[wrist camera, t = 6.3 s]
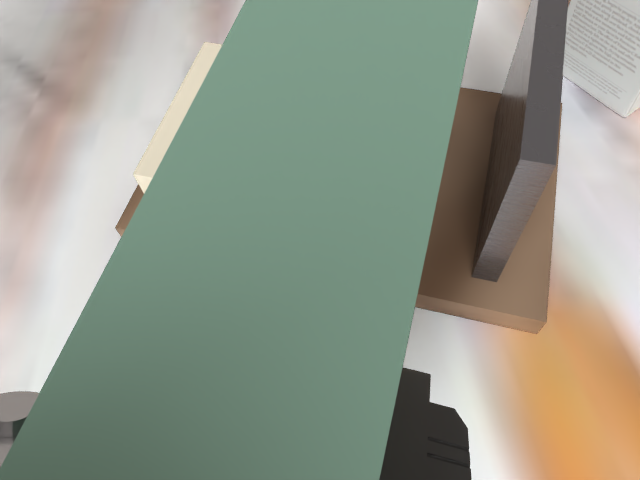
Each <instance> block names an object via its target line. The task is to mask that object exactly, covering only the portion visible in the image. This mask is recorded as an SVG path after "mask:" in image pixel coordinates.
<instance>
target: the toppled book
mask: <svg viewBox="0 0 640 480" xmlns="http://www.w3.org/2000/svg"><path fill="white" fill-rule="evenodd" d="M221 47H222V45H221V44H215V43H208V42H204V44H203V45H202V47H201V49H200V51H199V53H198V55H197V57H196V58H195V60H194V62H193V64H192V66H191V68H190V70H189V71H188V73H187V75H186V77H185V79H184V81H183V82H182V84H181V86H180V88H179V90H178V92H177V94H176V95H175V97H174V99H173V101H172V103H171V105H170V106H169V108H168V110H167V112H166V114H165V116H164V118H163V119H162V121H161V123H160V125H159V127H158V129H157V130H156V132H155V134H154V136H153V138H152V140H151V142H150V143H149V145H148V147H147V149H146V151H145V153H144V154H143V156H142V158H141V160H140V162H139V164H138V166H137V167H136V169H135V171H134V173H133V175H134V177H135V179H136V180H137V182H138V184H139V186H140V188H141V189H142V191H143V193H145V191H146V189H147V188H148V186H149V184H150V182H151V180H152V178H153V176H154V174H155V172H156V170H157V168H158V167H159V165H160V163H161V161H162V159H163V157H164V155H165V153H166V151H167V149H168V148H169V146H170V144H171V142H172V140H173V138H174V136H175V134H176V132H177V130H178V128H179V127H180V125H181V123H182V121H183V119H184V117H185V115H186V113H187V111H188V109H189V108H190V106H191V104H192V102H193V100H194V98H195V96H196V94H197V92H198V90H199V89H200V87H201V85H202V83H203V81H204V79H205V77H206V75H207V73H208V71H209V69H210V68H211V66H212V64H213V62H214V60H215V58H216V56H217V54H218V52H219V50H220V49H221Z"/></svg>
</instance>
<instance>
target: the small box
mask: <svg viewBox="0 0 640 480" xmlns="http://www.w3.org/2000/svg"><path fill="white" fill-rule="evenodd" d="M563 76H564V77H566V78H567V79H569V80H570V81H572V82H573V83H575V84H576V85H577V86H579V87H580V88H582V89H583V90H584V91H586V92H587V93H589V94H590V95H591V96H593V97H594V98H595V99H597V100H598V101H600V102H601V103H603V104H604V105H605V106H607V107H608V108H610V109H612V110H613V111H614V112H616V113H617V114H619V115H620V116H622V117H627V116H629V115H630V114H631V113H633V112H634V111H636V110H637V109H639V108H640V0H571V1H570V3H569V6H568V10H567V24H566V37H565V51H564V65H563Z"/></svg>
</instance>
